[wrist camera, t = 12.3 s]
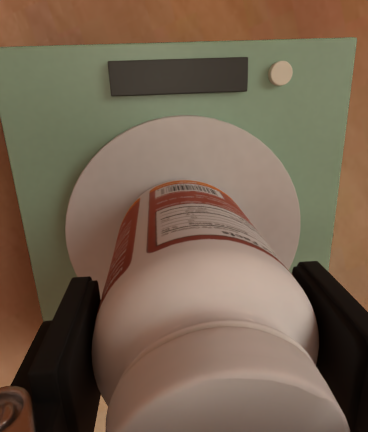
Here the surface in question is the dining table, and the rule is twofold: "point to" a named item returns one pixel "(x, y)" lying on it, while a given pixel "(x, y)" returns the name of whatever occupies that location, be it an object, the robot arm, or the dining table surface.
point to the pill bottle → (205, 324)
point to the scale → (172, 141)
